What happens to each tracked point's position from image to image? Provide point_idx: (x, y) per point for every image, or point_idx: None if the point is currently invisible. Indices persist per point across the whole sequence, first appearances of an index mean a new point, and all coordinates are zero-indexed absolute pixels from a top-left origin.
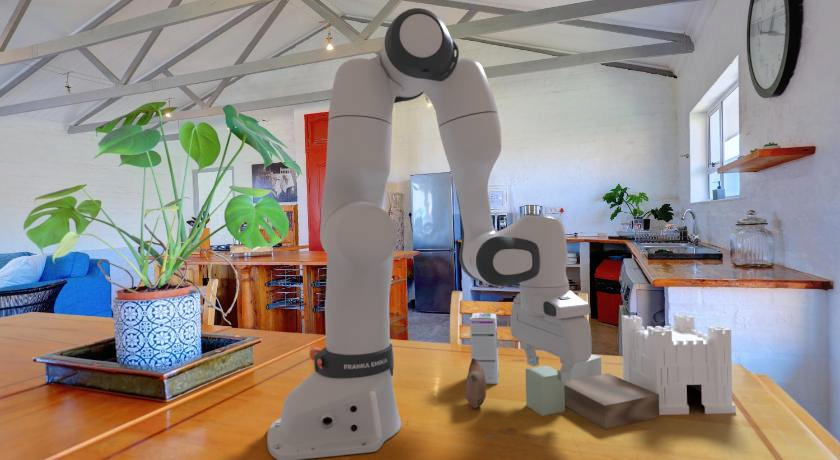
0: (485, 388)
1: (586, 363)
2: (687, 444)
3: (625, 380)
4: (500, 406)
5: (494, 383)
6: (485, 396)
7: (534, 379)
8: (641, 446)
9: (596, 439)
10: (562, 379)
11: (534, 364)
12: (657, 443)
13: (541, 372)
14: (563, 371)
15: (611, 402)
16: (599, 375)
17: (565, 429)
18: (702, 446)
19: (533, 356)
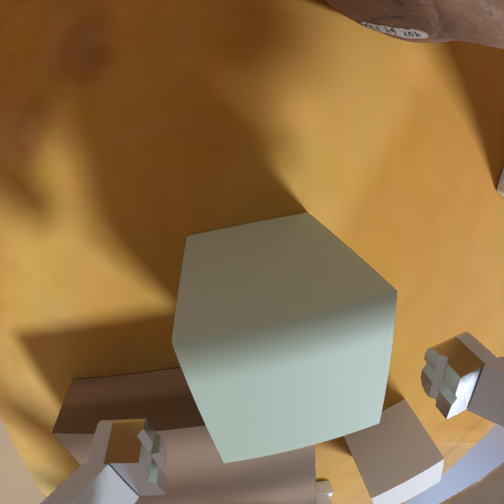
0: (374, 5)
1: (370, 492)
2: (37, 453)
3: (317, 498)
4: (326, 92)
5: (500, 180)
6: (352, 15)
7: (265, 298)
8: (6, 393)
9: (15, 328)
10: (97, 429)
11: (430, 367)
12: (27, 423)
13: (286, 376)
14: (73, 473)
15: (81, 456)
16: (311, 492)
17: (65, 273)
18: (36, 462)
19: (468, 393)
